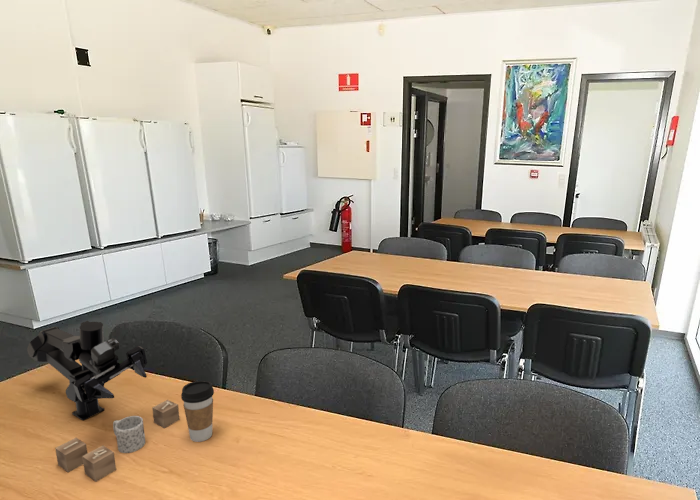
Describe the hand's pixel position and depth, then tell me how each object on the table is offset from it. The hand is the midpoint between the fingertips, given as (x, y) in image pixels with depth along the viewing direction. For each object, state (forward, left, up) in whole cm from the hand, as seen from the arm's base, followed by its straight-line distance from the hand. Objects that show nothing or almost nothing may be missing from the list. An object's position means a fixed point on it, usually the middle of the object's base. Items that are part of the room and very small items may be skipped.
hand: (130, 386), depth 118 cm
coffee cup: (+13, +11, -17) cm, 24 cm away
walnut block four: (+4, -12, -17) cm, 21 cm away
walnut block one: (-5, -14, -17) cm, 22 cm away
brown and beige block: (-1, +10, -17) cm, 20 cm away
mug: (-1, -2, -17) cm, 17 cm away
